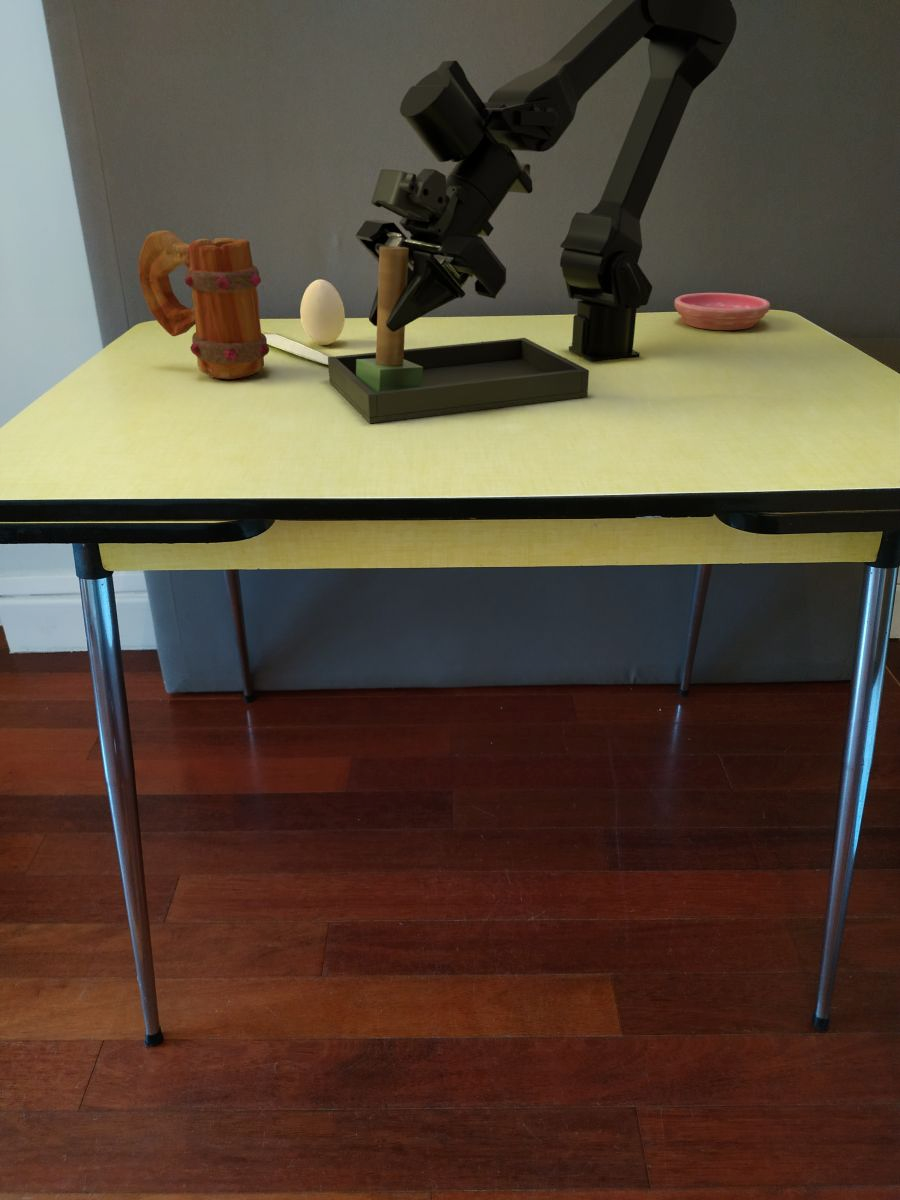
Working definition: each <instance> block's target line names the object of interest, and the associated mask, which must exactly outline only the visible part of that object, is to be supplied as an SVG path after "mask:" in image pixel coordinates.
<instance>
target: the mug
mask: <svg viewBox="0 0 900 1200" xmlns="http://www.w3.org/2000/svg"><path fill="white" fill-rule="evenodd" d="M250 246H251V245H250V241H249V240H247V239H246V238H241V239H235V238H231V237H216V238H215V239H214V240H210V239H209V238H200V239H195V240H193V241H191V243H189V244H188V243H185V242H184V241H183V240H181V239H180V238H179V237H178V236H177V235H175V233H174V232H173V231H170V230H168V229H164V230H157V231H153V232H151V233H149V234H148V235H147V236H146V239H145V241H144V242H143V244H142V247H141V249H140V253H139V258H138V263H137V266H138V279H139V284H140V287H141V291H142V295H143V297H144V299H145V303H146V305H147V307H148V309H149V311H150V313H151V314H152V315H153V317H154V319H155V320H156V321H157V322H158V324H159V325H160V326H161V327H162V328H163V329H164V330H165V331H166V333H168V334H169V335H170V336H171V337H177V336H180V335H183V334H186V333H187V332H189V331H190V330H191V329H192V328H193V327H194V326H195V332H194V333H193V334H192V337H191V341H192V343H191V345H190V347H189V348H190V351H191V353H192V354H193V355H195V357H196V358H197V359H196V360H197V367H198V369H199V370H200V371H201V372H202V373H203V374H205V375H208V376H209V377H212V378H213V379H220V380H221V379H224V380H236V379H242V378H247V377H249V376H252V375H254V374H256V373H258V372H259V371H261V370H262V369H263V368H264V366H265V356H267V355H268V354H269V352H270V346H268V344H267V338H266V336H265V335H264V334H262V333H261V331H262V327H261V319H260V308H259V307H260V306H259V304H260V303H259V293H258V290H257V289H258V288H257V287H258V286H259V285H260V284H261V282H262V279H261V277H260V270H259V269H258V267H257V266H256V265H254V263H253V257H252V252H251V247H250ZM181 265H182V266H186V267H187V268H186V270H185V278H184V282H185V285H187V286H188V288H190V289H191V295H192V303H193V307H187V306H185V305H183V304H182V303H181V302H180V301H179V299H178V298H177V296H176V295H175V294H174V290H173V288H172V284H171V281H170V276H169V275H170V274H171V273H172V272H173V271H175V270H176V269H177V268H179V267H180V266H181Z"/></svg>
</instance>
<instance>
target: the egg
mask: <svg viewBox="0 0 900 1200" xmlns="http://www.w3.org/2000/svg"><path fill="white" fill-rule="evenodd" d="M299 313H300V322H301V325H302V329H303V330H304V332H305V334H306V335H307V337H308V338H309V339H310V340H311V341H312V342H314V343H315V344H317V345H320V346H329V345H331V344H333V343H334V342H335V341H337V340H338V338H339V337H340V336H341V334H342V332H343V331H344V327H345V321H346V313H345V307H344V303H343V299H342V298H341V296H340V294H339V292H338V290H337V289H336V288H335V286H334V285H333V284H332V283H330V282H329V281H327V280H325V279H316V280H314V281H312V282H311V283H310V284H309V285H308V286H307V287H306V289H305V291H304V293H303V295H302V299H301V301H300V312H299Z"/></svg>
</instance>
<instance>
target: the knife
mask: <svg viewBox="0 0 900 1200" xmlns="http://www.w3.org/2000/svg"><path fill="white" fill-rule="evenodd" d="M261 333H262V334H264V335H265V336H266V338H267V345H269V346H271V347H274V348H276V349H279V350H283V351H285V352H287V353H290V354H293V355H296V356H298V357H300V358H304V359H306V360H310V361H313V362H317V363H320V364H323V365H327V366H328V357H329V356H328V355H326V354H324V353H322V352H321V351H318V350H316V349H314V348H311V347H308V346H306V345H304V344H301V343H299V342H297V341H295V340H292V339H289V338H286V337H284V336H281V335H278V334H275V333H274V332H272V331H265V330H261Z"/></svg>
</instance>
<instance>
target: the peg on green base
mask: <svg viewBox="0 0 900 1200" xmlns="http://www.w3.org/2000/svg"><path fill="white" fill-rule="evenodd" d="M408 255H409V249H408V248H405V247H397V246H380V252H379V262H378V281H377V282H378V283H377V284H378V285H377V288H378V310H377V326H376V339H375V340H376V341H375V352H376V358H372V359H357V360H356V377H357V378H359V379H360V380H361V381H362V382H363V383H364V384H365V385H366V386H367V387H368V388H369V389H371V390H372V391H373V392H381V391H390V390H399V389H408V388H416V387H422V377H423V367H422V366H419V365H417V364H414V363H412V362H409V361H407V360H404V350H405V339H406V338H405V337H406V325H405V326H404V327H402V328H400V329H398V330H397V331H395V332H393V331H391V330H390V329H389V328H388V327H387V326H386V322H387V320H388V318H389V316H390V314H391V312H392V310H393V308H394V307H395V305H396V303H397V301H398V300H399V298H400V296H401V294H402V293H403V291H404V289H405V287H406V286H407V276H408Z"/></svg>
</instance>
